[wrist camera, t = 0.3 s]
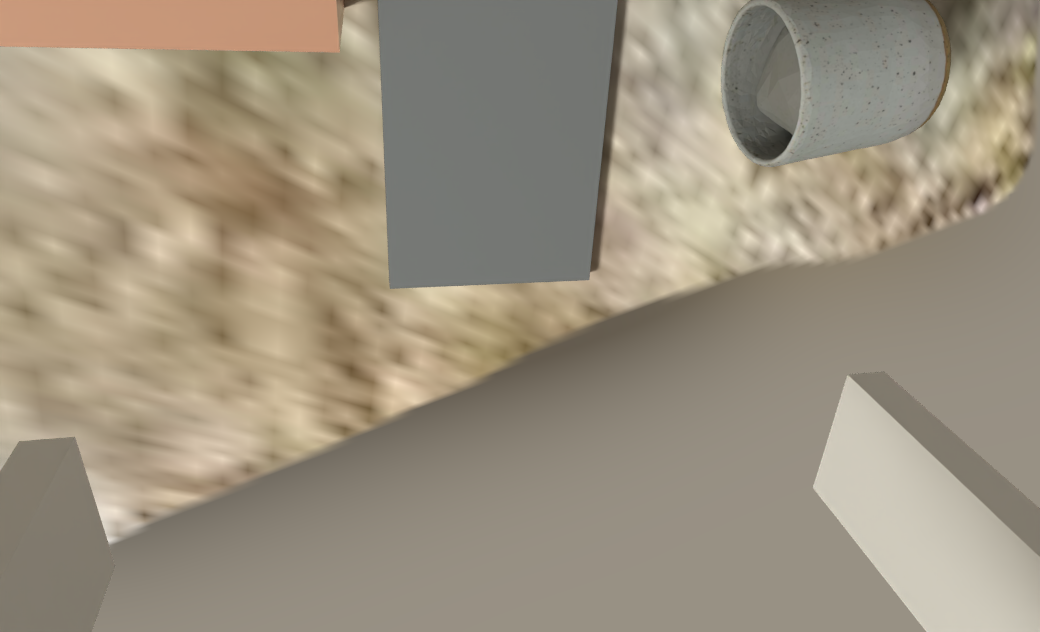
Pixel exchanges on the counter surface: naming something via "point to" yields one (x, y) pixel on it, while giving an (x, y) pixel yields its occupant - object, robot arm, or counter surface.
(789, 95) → the ceramic mug
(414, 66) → the slate mat
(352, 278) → the counter surface
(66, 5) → the terracotta tile
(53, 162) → the counter surface
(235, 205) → the counter surface
